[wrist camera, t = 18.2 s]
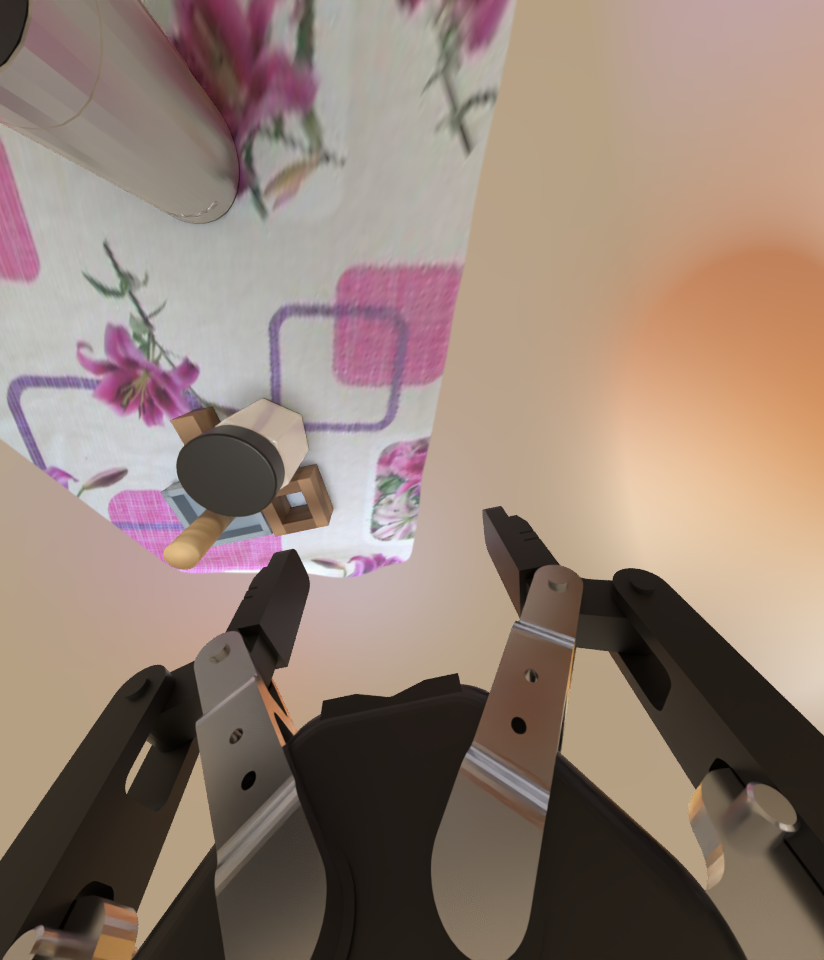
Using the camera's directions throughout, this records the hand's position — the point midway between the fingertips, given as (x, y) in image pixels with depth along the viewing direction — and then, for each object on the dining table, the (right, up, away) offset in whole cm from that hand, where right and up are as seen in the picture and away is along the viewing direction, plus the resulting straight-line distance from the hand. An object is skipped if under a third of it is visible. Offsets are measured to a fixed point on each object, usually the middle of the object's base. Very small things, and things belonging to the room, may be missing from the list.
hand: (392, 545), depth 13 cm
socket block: (-14, +1, +27) cm, 31 cm away
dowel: (-24, -1, +27) cm, 36 cm away
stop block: (-23, +8, +23) cm, 33 cm away
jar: (-16, +8, +24) cm, 30 cm away
